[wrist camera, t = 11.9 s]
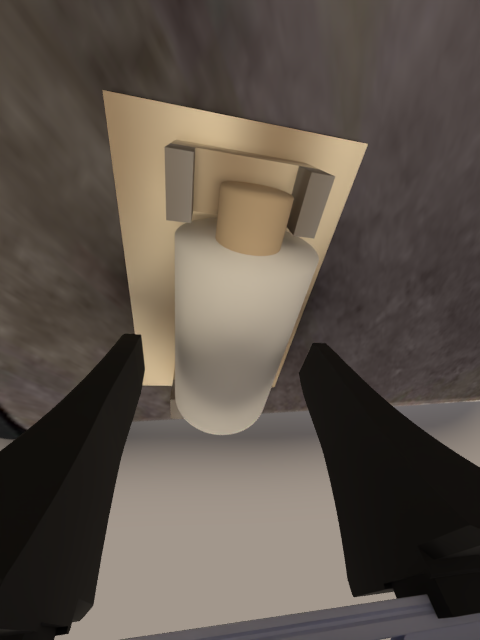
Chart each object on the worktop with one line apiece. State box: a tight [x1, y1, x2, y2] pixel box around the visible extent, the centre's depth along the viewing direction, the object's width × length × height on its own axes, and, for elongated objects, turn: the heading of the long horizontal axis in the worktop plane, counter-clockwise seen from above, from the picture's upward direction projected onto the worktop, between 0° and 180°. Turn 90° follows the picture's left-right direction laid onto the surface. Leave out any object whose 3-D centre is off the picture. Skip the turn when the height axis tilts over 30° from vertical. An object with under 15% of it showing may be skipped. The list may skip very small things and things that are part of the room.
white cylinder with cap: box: [175, 181, 319, 435], centre depth 12 cm, size 5×12×5 cm, turn 171°
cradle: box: [103, 90, 368, 419], centre depth 13 cm, size 10×16×4 cm, turn 171°
